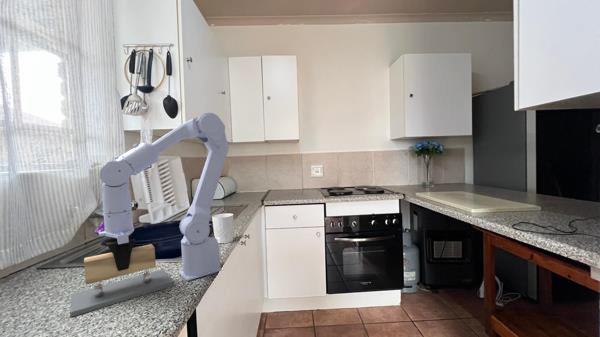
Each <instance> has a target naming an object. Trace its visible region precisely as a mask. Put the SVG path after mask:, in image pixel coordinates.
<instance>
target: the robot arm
mask: <svg viewBox="0 0 600 337" xmlns="http://www.w3.org/2000/svg"><path fill="white" fill-rule="evenodd" d="M194 138H198V139H199V140H200V141H201V142H203V144H204V146H205V147H206V149H207V150H208V153H207V157H206V160H205V162H204V166H203V169H202V172H201V174H200V177H199V181H198V184H197V187H196V191H195V194H194V197H193V198H192V203H191V205H190V206H189V207H188V209H187V212H186V214H185V216H184V217H183V218H182V219H181V220H180V222H179V230H180V233H181V234H182V235H183V238H182V239H181V240H180V247H181V261H182V262H181V263H182V269H180V270H179V271H178V273H179V275H180V276H181V277H182V278H184V280H185V281H187V282H188V281H192V280H195V279H197V278H198V279H199V278H201V277H205V276H208V275H212V274H215V273H218V272H221V271H222V268H221V256H220V245H219V244H218V241H217V239H216V238H215V236H213V237H211V236H209V235H210V231H211V228H210V221H211V220H210V219H211V207H212V204H213V202H214V197H215V194H216V191H217V188H218V184H219V181H220V178H221V175H222V172H223V168H224V165H225V162H226V159H227V157H228V156H227V155H228V153H229V144H228V139H227V135H226V126H225V124H224V122H223V121H222V119H221V118H220V117H219V115H217V114H216V113H214V112H205V113H203V114H201V115H200V116H199V117H198V116H196V117H193V118H192V119H190V120H187V121H185V122H183V123H181V124H180V125H178V126H177V127H175V128H173V129H172V130H171V131H169V132H167V133H166V134H164V135H163V136H161V137H160V138H159V139H157V140H155V141H153V142H152V143H147V142H141V143H139V144H138V143H135V144H133V145H132V149H129V150H127V151H126V152H125V153H123V154H122V155H120V156H119V155H116V156H114V157H113V160H114V161H113V160H112V161H111V160H110V161H107V162H106V163H105V164H104V165H102V167H101V168H100V170H99V178H100V180H101V182H102V185H101V190H102V194H101V199H102V210H103V211H102V212H103V213H102V214H103V221H104V226H105V231H103V232H99V234H98V236H99V237H106V238H104V240H105V242H106V246H107V247H108V249H109V250H110V251H111V252H112V253H113V256H114V259H115V263H116V266H117V269H118V271H122V270H126V269H129V265H130V257H131V252H132V249H133V248H134V246H135V244H136V241H137V239H136V238H132V237H133V232H134V231H135V228H134V227H133V223H134V222H133V209H132V198H131V197H132V196H131V191H130V189H129V180H130V176H137V175H138V174H140V173H141V172H143V171H145V170H146V169H148V168H149V167H151V166H152V165H153V164H156V163H157V162H158V160H159V156H160V154H161V153H163V152H164V151H166V150H167V149H169V148H171V147H172V146H174V145H176V144H178V143H179V142H181V141H182V140H184V139H194ZM111 252H110V253H111Z"/></svg>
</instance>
